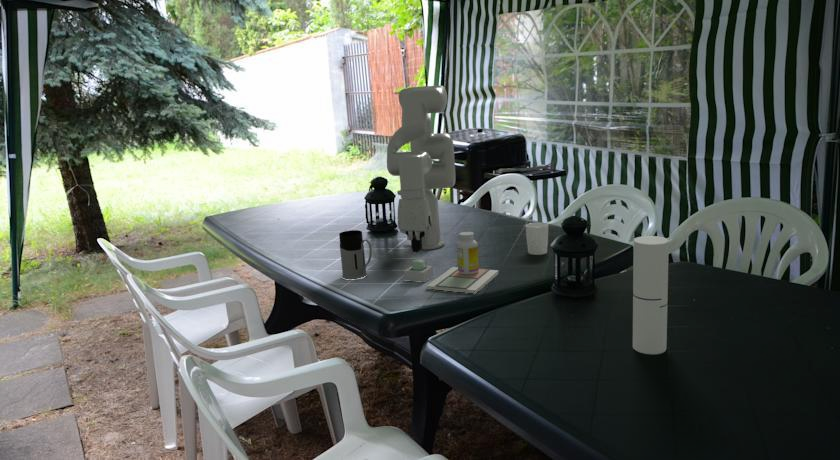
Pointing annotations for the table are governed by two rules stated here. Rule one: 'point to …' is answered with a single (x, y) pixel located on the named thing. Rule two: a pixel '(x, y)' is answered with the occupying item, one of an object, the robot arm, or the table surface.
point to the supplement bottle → (467, 254)
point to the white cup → (537, 238)
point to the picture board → (463, 280)
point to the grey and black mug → (353, 254)
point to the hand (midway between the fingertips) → (417, 251)
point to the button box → (418, 274)
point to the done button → (418, 265)
